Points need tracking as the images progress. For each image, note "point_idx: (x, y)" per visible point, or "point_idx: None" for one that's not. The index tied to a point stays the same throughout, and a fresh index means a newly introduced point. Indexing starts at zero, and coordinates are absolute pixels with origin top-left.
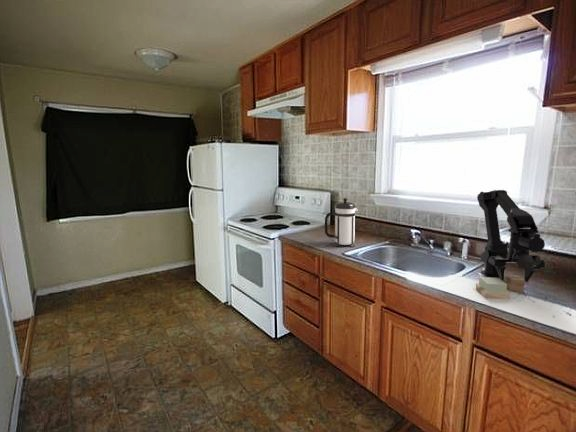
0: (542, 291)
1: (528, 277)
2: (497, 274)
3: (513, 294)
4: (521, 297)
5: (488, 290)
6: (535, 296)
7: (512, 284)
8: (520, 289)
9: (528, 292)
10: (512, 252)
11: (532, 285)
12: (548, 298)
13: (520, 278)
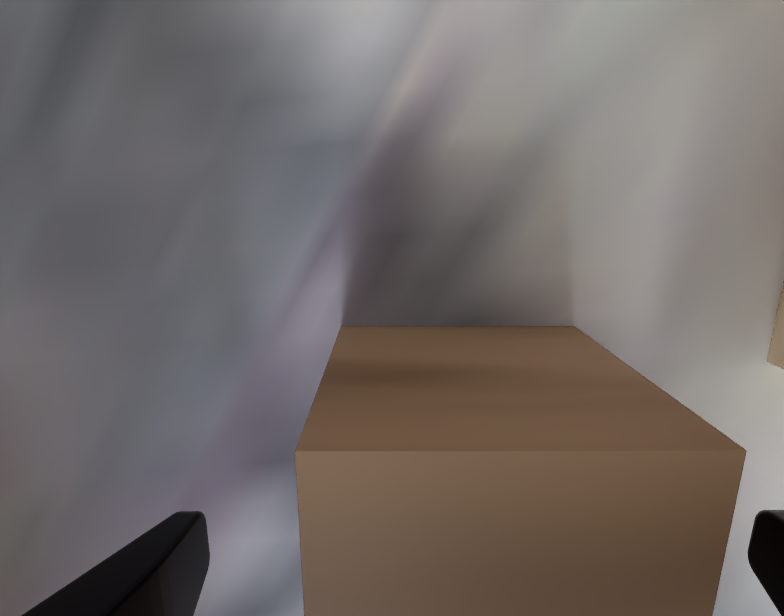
0: (4, 350)
1: (95, 609)
2: None
3: (617, 161)
4: (554, 10)
5: None
6: (244, 91)
7: (607, 378)
8: (400, 335)
9: (277, 284)
10: None
11: (61, 583)
12: (33, 2)
13: (374, 562)
